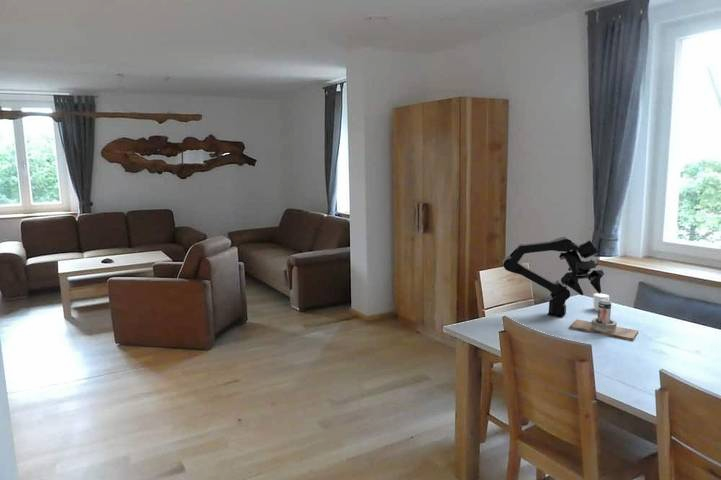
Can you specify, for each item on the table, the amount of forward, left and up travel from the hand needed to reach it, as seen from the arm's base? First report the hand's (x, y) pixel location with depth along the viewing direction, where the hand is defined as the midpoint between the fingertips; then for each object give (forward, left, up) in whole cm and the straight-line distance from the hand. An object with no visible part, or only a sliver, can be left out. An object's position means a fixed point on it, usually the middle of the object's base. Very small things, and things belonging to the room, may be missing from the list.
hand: (591, 293), depth 217 cm
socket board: (+7, -5, -14) cm, 16 cm away
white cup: (-1, +25, -14) cm, 29 cm away
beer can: (+6, -4, -13) cm, 15 cm away
